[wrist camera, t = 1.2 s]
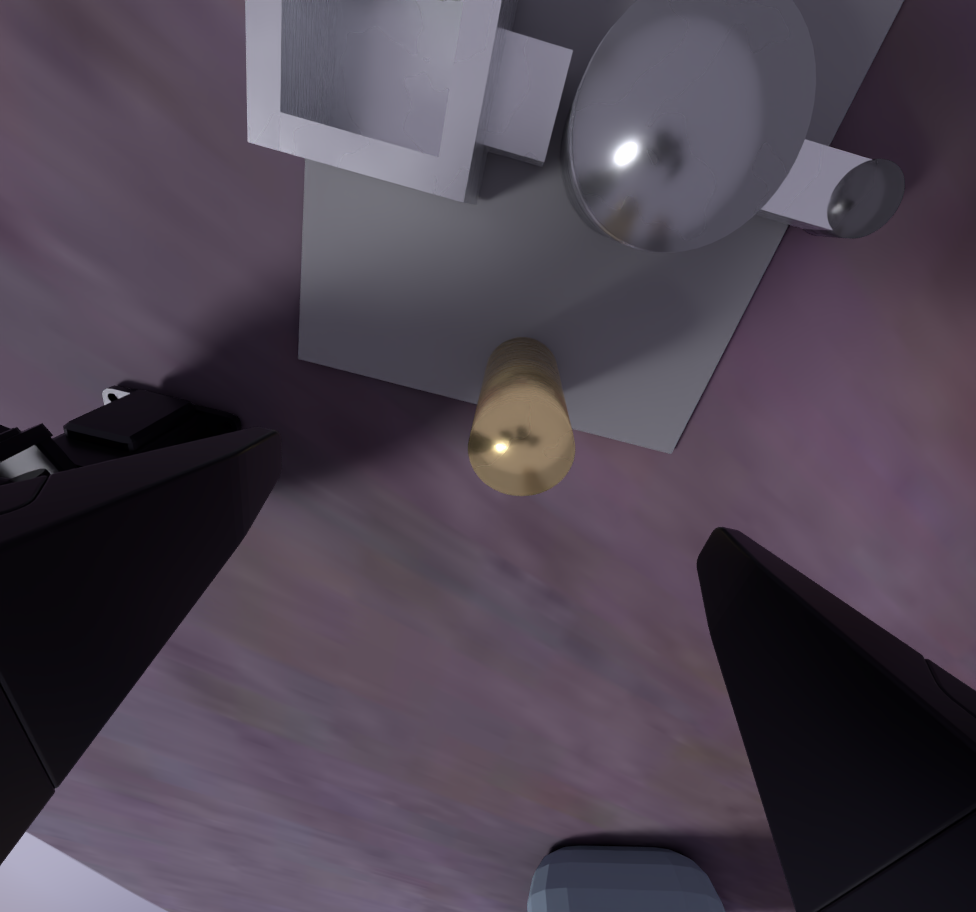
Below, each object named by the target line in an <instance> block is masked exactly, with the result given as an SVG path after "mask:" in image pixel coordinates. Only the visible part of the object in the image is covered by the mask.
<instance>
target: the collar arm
mask: <svg viewBox="0 0 976 912" xmlns="http://www.w3.org/2000/svg"><path fill="white" fill-rule="evenodd" d="M517 5H518V0H245V9H246V69H247V128H248V142H249V143H253V144H257V145H260V146H264V147H267V148H271V149H274V150H278V151H282V152H285V153H289V154H292V155H296V156H299V157H303V158H306V159H310V160H314V161H317V162H321V163H324V164H328V165H331V166H335V167H338V168H342V169H346V170H349V171H353V172H356V173H360V174H363V175H367V176H371V177H374V178H378V179H381V180H385V181H388V182H392V183H395V184H399V185H403V186H406V187H410V188H413V189H417V190H420V191H424V192H427V193H431V194H435V195H438V196H442V197H445V198H449V199H452V200H456V201H460V202H463V203H468V204H474V205H477V202H478V197H479V192H480V187H481V182H482V177H483V172H484V167H485V162H486V157H487V152H491V153H495V154H498V155H502V156H505V157H509V158H512V159H515V160H519V161H522V162H526V163H529V164H533V165H536V166H540V167H542V166H543V164H544V161H545V157H546V154H547V150H548V146H549V142H550V138H551V134H552V130H553V126H554V122H555V119H556V115H557V111H558V107H559V103H560V99H561V95H562V91H563V87H564V84H565V80H566V76H567V72H568V68H569V64H570V60H571V56H572V52H573V50H571V49H567V48H564V47H561V46H557V45H554V44H551V43H548V42H544V41H541V40H538V39H535V38H531V37H528V36H525V35H521V34H518V33H515V32H512V29H513V24H514V19H515V14H516V9H517ZM904 189H905V180H904V175H903V173H902V170H901V169H900V168H899V166H898V165H897V164H895V163H894V162H892V161H890V160H886V159H873V160H872V159H869V158H865V157H862V156H859V155H856V154H852V153H849V152H846V151H842V150H839V149H836V148H832V147H829V146H826V145H823V144H819V143H816V142H813V141H809V140H806V139H805V140H804V143H803V145H802V147H801V150H800V152H799V154H798V157H797V159H796V161H795V163H794V164H793V166H792V168H791V170H790V172H789V173H788V175H787V177H786V178H785V180H784V181H783V183H782V184H781V185H780V187H779V188H778V190H777V191H776V192H775V194H774V195H773V196H772V197H771V198H770V200H769V201H768V202H767V203H766V204H765V205H764V206H763V207H762V208H761V209H760V210H759V211H758V212H757V213H756V214H755V215H757V216H761V217H764V218H767V219H771V220H774V221H778V222H781V223H785V224H788V225H792V226H795V227H798V228H802V229H803V230H805V231H806V232H807V233H809V234H811V235H815V236H825V237H838V238H852V239H853V238H860V237H864V236H867V235H869V234H871V233H873V232H875V231H877V230H878V229H879V228H881V227H882V226H883V225H884V224H886V223H887V222H888V220H889V219H890V218H891V217H892V216H893V215H894V213H895V212H896V210H897V209H898V207H899V205H900V203H901V200H902V197H903V194H904Z"/></svg>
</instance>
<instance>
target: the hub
mask: <svg viewBox="0 0 976 912" xmlns="http://www.w3.org/2000/svg"><path fill="white" fill-rule="evenodd" d="M815 90H816V63H815V56H814V49H813V44H812V40H811V37H810V34H809V30H808V27H807V25H806V23H805V21H804V18H803V16H802V14H801V12H800V10H799V9H798V8H797V6H796V5H795V3H794V2H793V0H637V1H636V2H635V3H634V4H632V5H631V6H630V7H629V8H628V9H627V11H626V12H625V13H624V14H623V15H622V16H621V17H620V18H619V19H618V20H617V22H616V23H615V24H614V25H613V26H612V27H611V29H610V30H609V31H608V33H607V34H606V36H605V37H604V38H603V40H602V41H601V42H600V44H599V46H598V47H597V49H596V51H595V53H594V54H593V56H592V58H591V60H590V62H589V64H588V66H587V68H586V71H585V73H584V75H583V77H582V80H581V82H580V84H579V86H578V89H577V92H576V95H575V98H574V101H573V104H572V106H571V108H570V110H569V113H568V116H567V119H566V122H565V125H564V130H563V135H562V141H561V150H560V165H561V174H562V180H563V184H564V188H565V191H566V194H567V196H568V199H569V201H570V203H571V205H572V207H573V209H574V210H575V212H576V213H577V214H578V216H579V217H580V218H581V220H582V221H583V222H584V223H585V224H586V225H587V226H588V227H590V228H591V229H592V230H594V231H595V232H596V233H598V234H600V235H602V236H604V237H606V238H609V239H611V240H614V241H617V242H619V243H621V244H623V245H626V246H629V247H632V248H635V249H638V250H643V251H648V252H655V253H671V252H681V251H687V250H692V249H696V248H700V247H702V246H705V245H708V244H711V243H713V242H715V241H717V240H719V239H721V238H723V237H725V236H727V235H729V234H730V233H732V232H733V231H735V230H736V229H738V228H740V227H741V226H742V225H743V224H745V223H746V222H747V221H748V220H750V219H751V218H752V217H753V216H754V215H755V214H756V213H757V212H758V211H759V210H760V209H761V208H762V207H763V206H764V205H765V204H766V203H767V202H768V201H769V200H770V198H771V197H772V196H773V195H774V194H775V192H776V191H777V190H778V188H779V187H780V185H781V184H782V183H783V181H784V180H785V178H786V177H787V175H788V173H789V172H790V170H791V168H792V166H793V164H794V163H795V161H796V159H797V157H798V154H799V152H800V150H801V147H802V145H803V143H804V140H805V137H806V134H807V131H808V128H809V125H810V121H811V116H812V111H813V107H814V101H815Z"/></svg>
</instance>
